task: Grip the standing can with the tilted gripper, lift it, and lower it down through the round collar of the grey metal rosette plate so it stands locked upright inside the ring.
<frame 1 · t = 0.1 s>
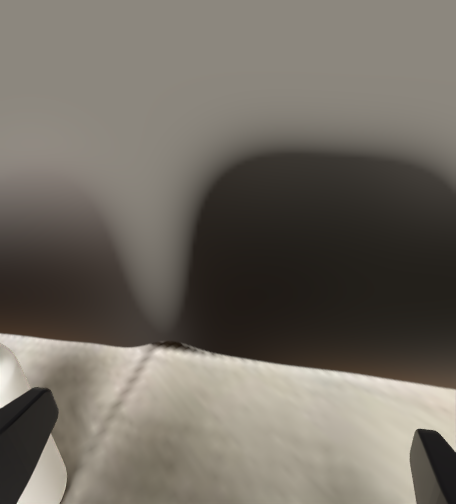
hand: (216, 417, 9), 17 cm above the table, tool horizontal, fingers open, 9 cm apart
can: (17, 503, 24), on the table
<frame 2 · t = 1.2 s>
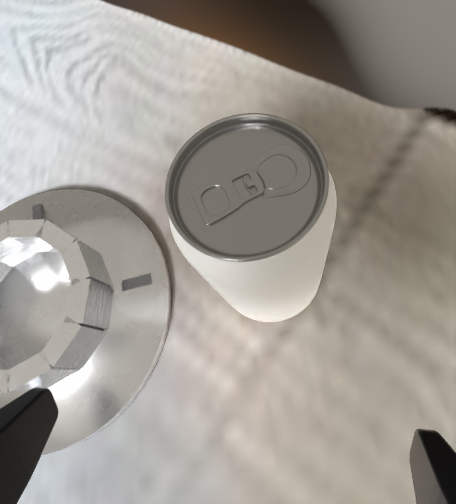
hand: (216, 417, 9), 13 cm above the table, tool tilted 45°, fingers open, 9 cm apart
can: (269, 273, 24), on the table
rosette: (48, 309, 26), on the table
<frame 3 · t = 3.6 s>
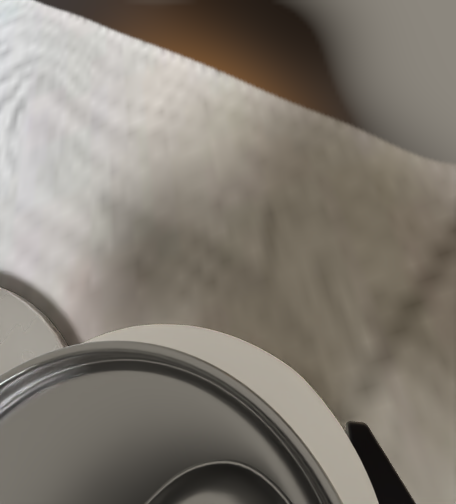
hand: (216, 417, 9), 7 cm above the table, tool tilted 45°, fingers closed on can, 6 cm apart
can: (247, 435, 15), on the table, touching gripper
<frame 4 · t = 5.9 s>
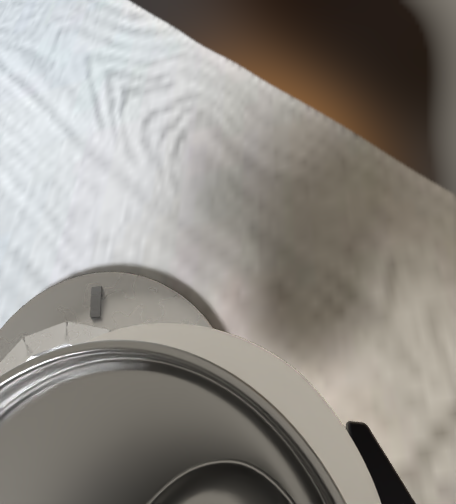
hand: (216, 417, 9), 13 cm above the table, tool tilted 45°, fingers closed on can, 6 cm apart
can: (248, 434, 15), point 6 cm above the table, touching gripper
rosette: (96, 415, 23), on the table
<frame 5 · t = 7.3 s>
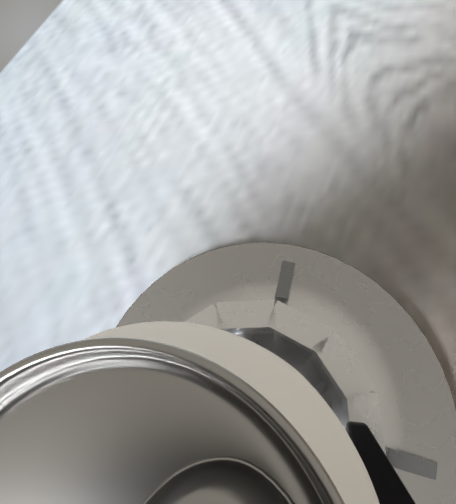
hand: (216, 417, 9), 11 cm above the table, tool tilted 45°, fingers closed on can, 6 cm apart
can: (247, 433, 15), point 4 cm above the table, touching gripper
rosette: (258, 415, 18), on the table
when the fingers open (9 cm above the table, at t = 8.2 s): can drops 1 cm, resting on rosette.
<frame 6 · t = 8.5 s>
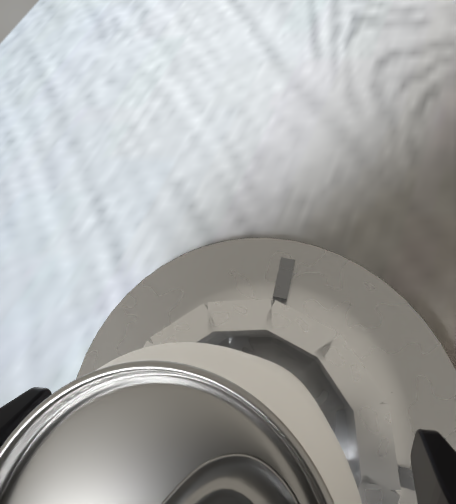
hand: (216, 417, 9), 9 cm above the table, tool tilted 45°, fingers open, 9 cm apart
can: (250, 434, 16), point 1 cm above the table, touching rosette
rosette: (254, 427, 17), on the table
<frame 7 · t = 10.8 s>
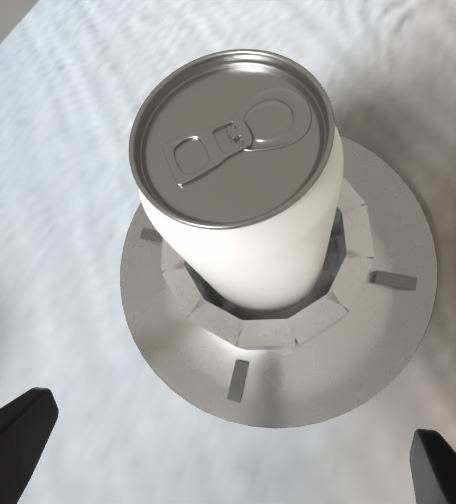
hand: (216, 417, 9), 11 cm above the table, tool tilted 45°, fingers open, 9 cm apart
can: (265, 260, 21), point 1 cm above the table, touching rosette
rosette: (267, 260, 22), on the table
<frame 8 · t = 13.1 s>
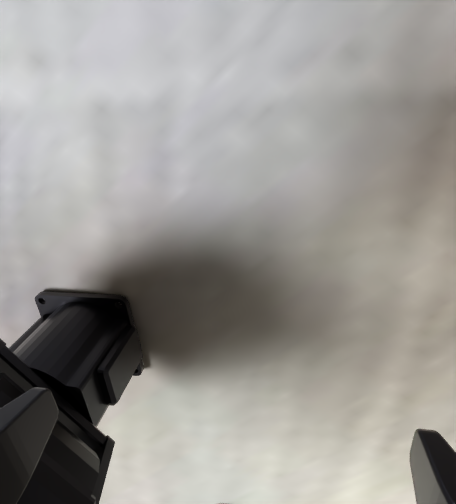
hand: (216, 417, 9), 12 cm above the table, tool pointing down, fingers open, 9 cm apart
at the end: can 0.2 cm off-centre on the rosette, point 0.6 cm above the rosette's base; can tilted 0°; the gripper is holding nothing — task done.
